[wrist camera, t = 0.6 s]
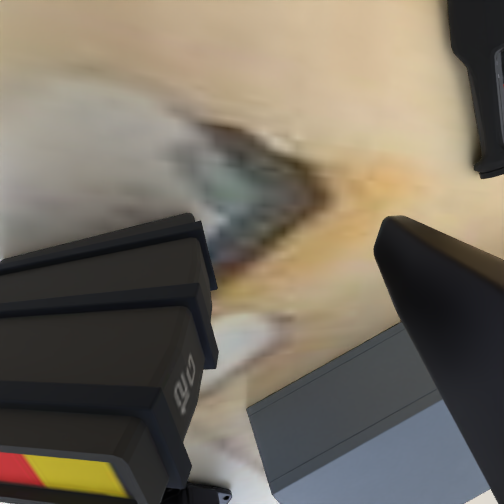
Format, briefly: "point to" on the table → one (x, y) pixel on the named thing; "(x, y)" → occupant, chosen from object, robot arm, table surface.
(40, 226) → the table surface
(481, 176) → the electric trimmer
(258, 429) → the cabinet
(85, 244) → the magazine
